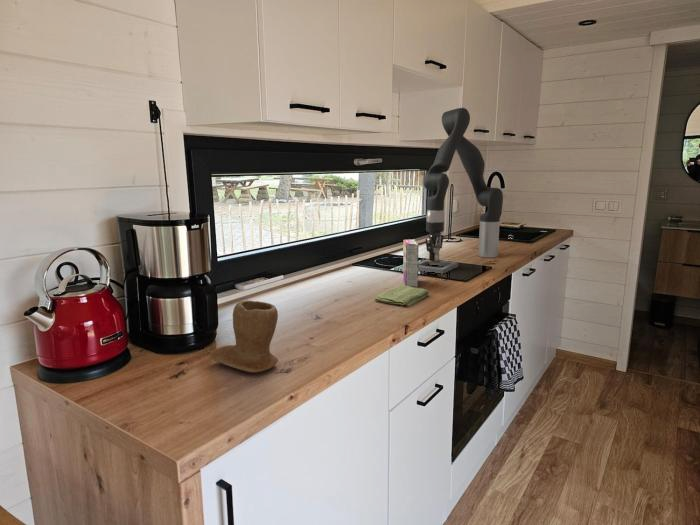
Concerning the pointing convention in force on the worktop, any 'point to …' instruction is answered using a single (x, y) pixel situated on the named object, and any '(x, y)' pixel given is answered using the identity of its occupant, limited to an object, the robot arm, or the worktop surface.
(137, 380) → the worktop surface
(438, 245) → the cord spool
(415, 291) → the washcloth
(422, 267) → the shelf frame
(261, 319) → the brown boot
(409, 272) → the candy bar box
